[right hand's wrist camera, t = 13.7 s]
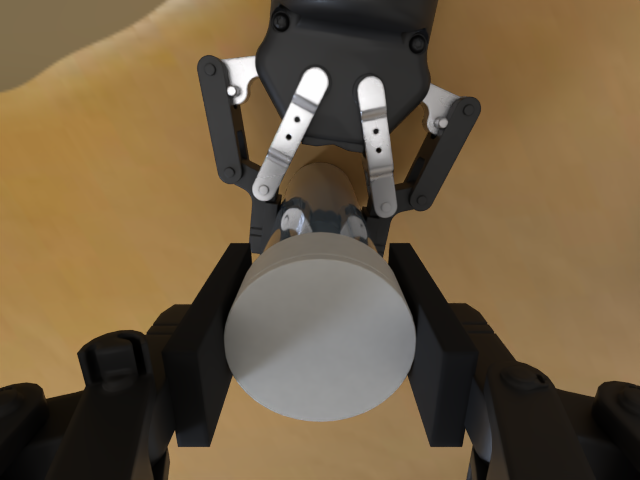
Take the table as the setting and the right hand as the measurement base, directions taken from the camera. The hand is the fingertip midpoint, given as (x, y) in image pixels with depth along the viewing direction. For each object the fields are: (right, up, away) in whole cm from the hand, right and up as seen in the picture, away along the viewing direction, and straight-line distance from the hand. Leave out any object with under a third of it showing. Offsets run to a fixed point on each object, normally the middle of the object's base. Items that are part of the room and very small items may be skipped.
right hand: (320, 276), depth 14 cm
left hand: (0, 0, +7) cm, 7 cm away
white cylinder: (0, -1, -4) cm, 4 cm away
